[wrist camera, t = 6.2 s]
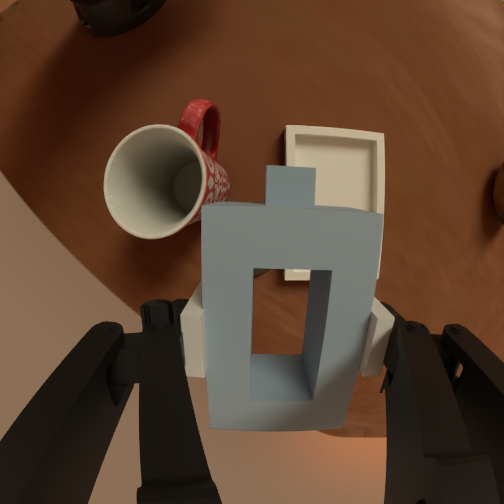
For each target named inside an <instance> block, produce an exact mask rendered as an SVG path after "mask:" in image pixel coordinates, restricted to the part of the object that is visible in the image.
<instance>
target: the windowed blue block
mask: <svg viewBox="0 0 504 504" xmlns="http://www.w3.org/2000/svg"><path fill="white" fill-rule="evenodd" d="M315 183H316V168H309V167H294V166H274V165H267V166H266V170H265V203H255V202H215V203H211V204H207V205H203V206H202V211H201V256H202V303H203V309H204V315H205V339H206V358H207V371H206V381H207V396H208V408H209V419H210V428H211V429H223V430H239V431H306V430H307V431H308V430H323V429H335V428H342V426H343V423H344V420H345V417H346V413H347V410H348V407H349V404H350V400H351V397H352V393H353V390H354V386H355V382H356V379H357V375H358V371H359V367H360V363H361V359H362V354H363V350H364V346H365V341H366V336H367V331H368V326H369V321H370V316H371V311H372V305H373V299H374V293H375V286H376V280H377V272H378V265H379V257H380V248H381V238H382V226H383V214H380V213H375V212H371V211H366V210H361V209H356V208H350V207H337V206H321V205H315ZM254 268H266V269H301V270H311V271H310V282H309V294H308V304H307V314H306V323H305V332H304V340H303V348H302V355H273V354H251V347H252V316H253V284H254Z"/></svg>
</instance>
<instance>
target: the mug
mask: <svg viewBox="0 0 504 504" xmlns="http://www.w3.org/2000/svg"><path fill="white" fill-rule="evenodd" d="M202 119H203V141H202V147H201V148H200V147H199V143H198V139H197V137H198V131H199V127H200V124H201V121H202ZM219 134H220V112H219V109H218V107H217V105H216V104H214V103H213V102H211V101H208V100H204V99H194V100H192V101H191V102H190V103H189V104H188V105H187V106H186V108H185V109H184V111H183V113H182V116H181V118H180V121H179V125H178V127H177V128H176V127H173V126H169V125H162V124H157V125H149V126H145V127H142V128H139V129H137V130H135V131H134V132H132V133H130V134H129V135H128V136H126V137H125V138H124V139H123V140H122V141H121V142H120V143H119V144H118V145H117V147H116V148H115V150H114V151H113V153H112V155H111V156H110V159H109V161H108V164H107V167H106V170H105V176H104V196H105V201H106V204H107V207H108V209H109V212H110V214H111V215H112V217H113V218H114V220H115V221H116V222H117V224H118V225H119V226H120V227H121V228H123V229H124V230H125V231H126V232H128V233H130V234H132V235H134V236H136V237H139V238H143V239H161V238H165V237H169V236H171V235H173V234H175V233H177V232H179V231H180V230H181V229H183V228H184V227H185V226H187V225H190V224H192V223H194V222H197V221H199V220H201V211H202V206H203V205H207V204H211V203H215V202H226V200H227V198H228V195H229V188H230V187H229V178H228V175H227V173H226V171H225V170H224V168H223V167H222V166H221V165H220V164H219V163H218V162H217V161H216V156H217V149H218V143H219Z"/></svg>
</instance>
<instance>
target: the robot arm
mask: <svg viewBox="0 0 504 504" xmlns="http://www.w3.org/2000/svg"><path fill="white" fill-rule="evenodd" d="M70 1H72V2H73V5H74V7H75V10H76V13H77V16H78V18H79V21H80V23H81V25H82V26H83V27H84V28H85V29H86V30H88V31H89V32H90V33H91V34H93V35H96V36H112V35H116V34H119V33H122V32H125V31H127V30H130V29H132V28H134V27H135V26H137V25H139V24H141V23H142V22H144V21H145V20H147V19H148V18H149V17H150V16H152V15H153V14H154V13H155V12H156V11H157V10H158V9H159V8H160V7H161V6H162V5H163V3H164V2H165V1H166V0H70ZM140 310H141V318H142V326H143V330H142V332H139V333H126V334H125V333H124V332H123V327H122V325H120V324H118V323H116V322H108V321H106V322H101V323H99V324H96V325H94V326H93V327H92V328H91V329H90V330H89V331H88V332H87V333H86V334H85V336H84V337H83V338H82V339H81V340H80V341H79V342H78V343H77V345H76V346H75V347H74V348H73V349H72V350H71V352H70V353H69V354H68V355H67V356H66V357H65V358H64V360H63V361H62V362H61V364H59V366H58V367H57V368H56V369H55V370H54V372H53V373H52V374H51V375H50V376H49V378H48V379H47V380H46V381H45V383H44V384H43V385H42V386H41V388H40V389H39V390H38V391H37V392H36V394H35V395H34V396H33V398H32V399H31V400H30V401H29V403H28V404H27V405H26V407H25V408H24V409H23V411H22V412H21V413H20V415H19V416H18V417H17V419H16V420H15V421H14V423H13V424H12V425H11V427H10V428H9V430H8V431H7V433H6V434H5V435H4V437H3V438H2V440H1V441H0V504H88V502H89V499H90V496H91V493H92V490H93V487H94V485H95V482H96V479H97V476H98V474H99V471H100V468H101V465H102V462H103V460H104V457H105V455H106V452H107V450H108V447H109V444H110V442H111V439H112V437H113V434H114V432H115V429H116V427H117V425H118V422H119V419H120V417H121V415H122V412H123V410H124V407H125V405H126V403H127V400H128V398H129V396H130V394H131V391H132V389H133V387H134V383H139V443H140V463H141V478H142V485H141V487H139V488H138V489H137V504H222V502H221V499H220V496H219V493H218V490H217V487H216V485H215V483H214V482H213V480H212V478H211V474H210V471H209V468H208V464H207V461H206V457H205V454H204V450H203V446H202V442H201V438H200V435H199V431H198V426H197V422H196V418H195V414H194V410H193V405H192V401H191V396H190V391H189V386H188V382H187V377H186V376H190V377H201V378H205V375H206V371H207V358H206V339H205V315H204V309H203V303H202V280H201V281H200V283H199V285H198V286H197V288H196V290H195V291H194V293H193V295H192V296H191V298H190V300H189V299H177V300H175V301H173V302H172V301H169V300H164V299H157V300H150V301H147V302H145V303H143V304H142V305H141V306H140ZM460 363H461V364H462V366H463V370H462V373H461V375H460V377H459V378H458V377H457V375H456V373H457V370H458V368H459V365H460ZM383 364H384V365H385V367H386V368H387V371H386V375H385V378H384V381H383V384H382V387H381V390H380V393H382V392H383V390H384V389H385V397H386V421H387V461H386V484H385V498H384V504H504V363H503V362H502V361H501V360H500V359H499V358H498V357H497V356H496V355H495V354H494V353H493V352H492V351H491V350H490V349H489V348H488V347H487V346H486V345H484V344H483V343H482V342H481V341H480V340H479V339H478V338H477V337H476V336H475V335H474V334H472V333H471V332H470V331H469V330H468V329H466V328H465V327H463V326H461V325H459V324H458V325H457V324H449V325H446V326H444V329H443V333H442V335H437V334H430V332H429V330H428V328H427V327H426V326H425V325H423V324H421V323H418V322H415V321H406V320H405V319H404V318H403V317H402V316H401V315H400V314H398V313H397V312H396V311H395V310H394V309H393V308H392V307H391V306H390V305H388V304H386V303H384V302H379V301H378V300H377V299H376V298H375V297H374V299H373V305H372V311H371V316H370V321H369V326H368V331H367V336H366V341H365V346H364V350H363V354H362V359H361V363H360V367H359V369H360V371H361V373H362V375H363V377H369V376H378V375H380V373H381V370H382V366H383Z"/></svg>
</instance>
